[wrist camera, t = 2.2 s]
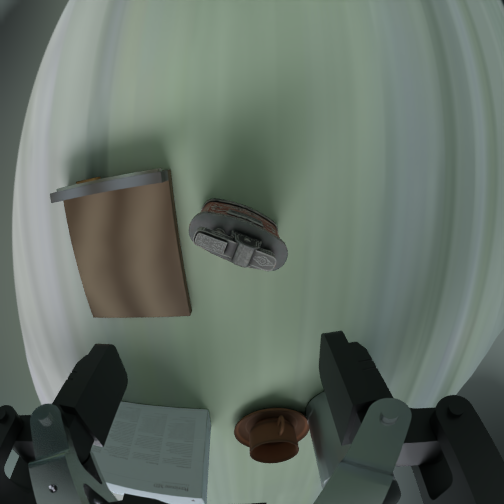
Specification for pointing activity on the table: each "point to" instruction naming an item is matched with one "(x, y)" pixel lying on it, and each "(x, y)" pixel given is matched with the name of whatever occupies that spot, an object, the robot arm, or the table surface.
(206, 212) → the lighter
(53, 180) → the table surface
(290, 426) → the cup and saucer
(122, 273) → the shelf board
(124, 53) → the table surface
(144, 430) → the skincare box
